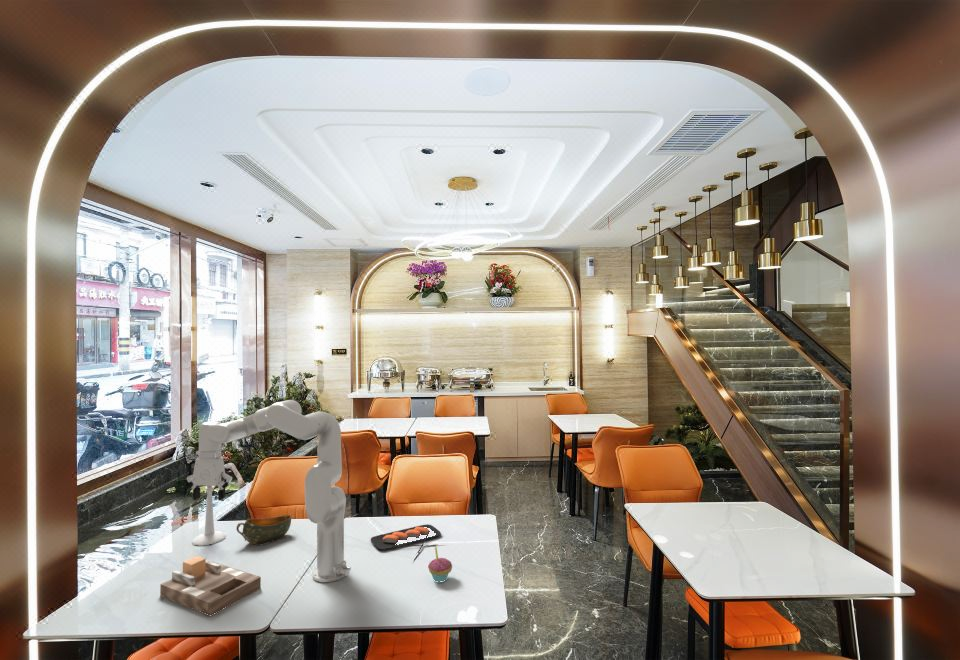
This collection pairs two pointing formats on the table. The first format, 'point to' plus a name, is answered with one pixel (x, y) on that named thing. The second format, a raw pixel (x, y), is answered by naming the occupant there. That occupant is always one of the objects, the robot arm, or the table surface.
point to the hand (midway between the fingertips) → (209, 499)
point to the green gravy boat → (265, 529)
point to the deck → (210, 588)
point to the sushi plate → (403, 537)
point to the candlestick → (209, 524)
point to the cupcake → (439, 568)
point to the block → (195, 566)
